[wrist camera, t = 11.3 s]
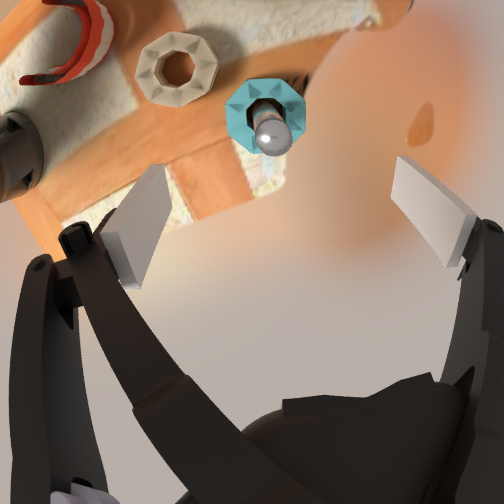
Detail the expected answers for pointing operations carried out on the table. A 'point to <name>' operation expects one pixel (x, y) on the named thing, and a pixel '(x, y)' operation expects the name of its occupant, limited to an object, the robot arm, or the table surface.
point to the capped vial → (271, 130)
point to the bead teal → (263, 89)
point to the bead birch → (153, 64)
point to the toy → (80, 43)
